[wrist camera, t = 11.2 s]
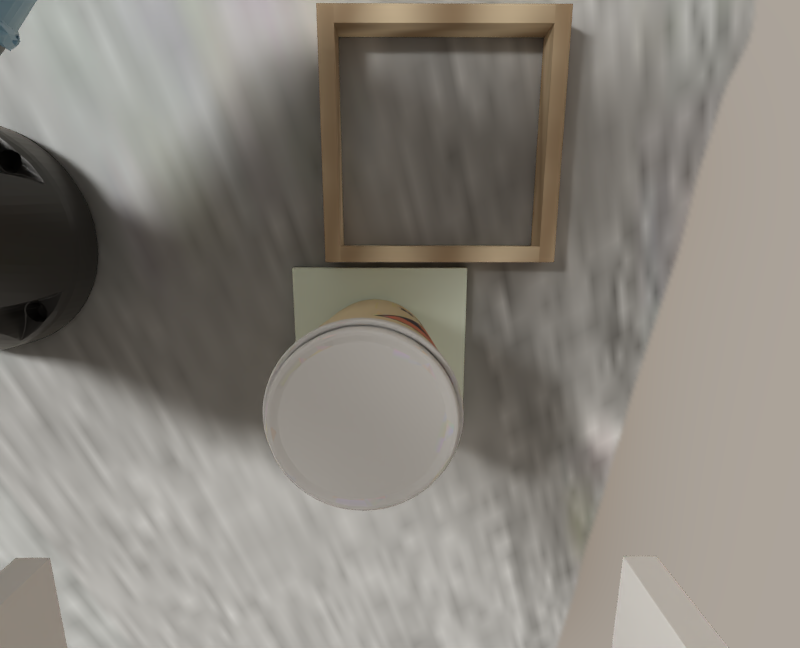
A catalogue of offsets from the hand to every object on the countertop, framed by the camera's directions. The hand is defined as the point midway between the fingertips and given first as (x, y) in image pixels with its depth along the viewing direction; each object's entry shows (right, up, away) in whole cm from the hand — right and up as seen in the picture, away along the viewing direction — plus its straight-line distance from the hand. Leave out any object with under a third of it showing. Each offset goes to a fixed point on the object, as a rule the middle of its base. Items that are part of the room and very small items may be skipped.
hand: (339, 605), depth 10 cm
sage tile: (0, +5, +22) cm, 23 cm away
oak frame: (+4, +18, +19) cm, 27 cm away
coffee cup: (0, +5, +21) cm, 22 cm away
